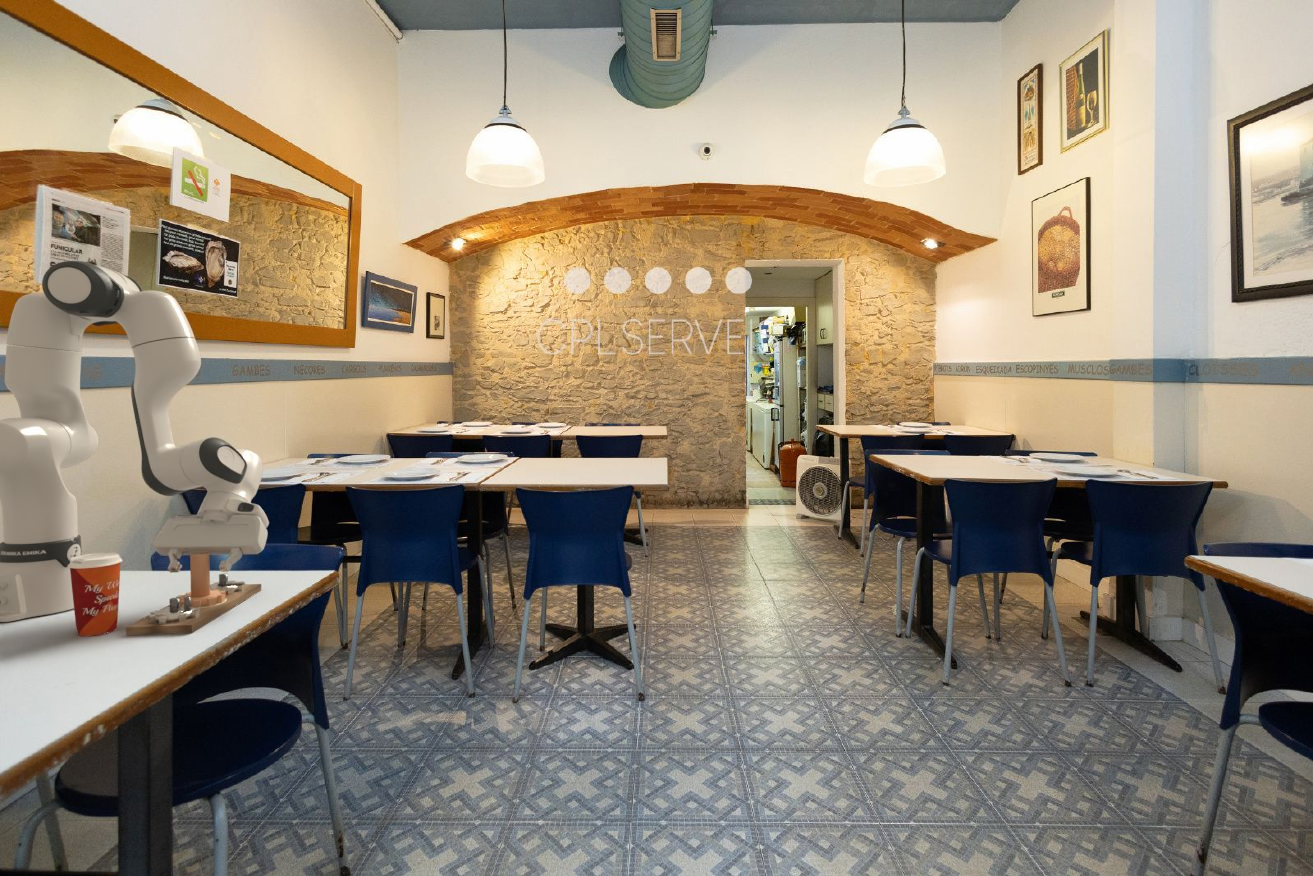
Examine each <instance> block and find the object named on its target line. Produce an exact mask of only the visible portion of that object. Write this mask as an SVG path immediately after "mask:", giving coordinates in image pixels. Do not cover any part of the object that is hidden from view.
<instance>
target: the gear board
mask: <svg viewBox="0 0 1313 876" xmlns="http://www.w3.org/2000/svg"><path fill="white" fill-rule="evenodd" d="M259 591H260V592H261V591H262V583H250V584H248V583H247V584H246V583H245V587H244V590H243V591H237V592H234V594H229V595H228V594H226V599H225V601H224V602H223V603H217V604H216V605H214V606H210V607H209V606H205V607H201V608H200V613H199V616H198V617H196V618H190V619H186V621H183V622H170V623H167V624H159V623H158V622H154V623H150V622H149V615H147V616H146V617H143V618H141V619H138V620H137V621H135V622H133V623H131V624H130V625H127V626H125V635H126V636H141V635H142V636H143V635H175V634H176V635H177V634H179V635H180V634H193V633H194V632H196V631H198V630H199V629H201V628H203V627H204V626H206V625H208V624H209V623H211V622H212V621H214V620H216V619H217V618H219V617H220V616H222V615H224V614H225V613H227V612H228V611H230V610H232V609H234V608H235V607H237V606H238V605H237V604H239V605H240V604H241V602H242V603H243V602H245V601H246V600H248V599H250V598H252V597H253V596H254V594H255V595H256V594H258V593H259ZM257 592H258V593H257ZM252 595H253V596H252ZM251 596H252V597H251ZM249 597H250V598H249ZM244 600H245V601H244ZM236 605H237V606H236ZM165 607H170V604H169V605H167V606H165ZM165 607H163V608H161V609H160V610H162V609H164V608H165Z"/></svg>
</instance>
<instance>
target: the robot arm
mask: <svg viewBox="0 0 1313 876" xmlns="http://www.w3.org/2000/svg"><path fill="white" fill-rule="evenodd" d="M41 285H42V286H41V287H42V291H43V292H33V293H28V294H24V295H22V296H21V297H19V298H18V299H17V301H16V302H15V304H14V306H13V307H14V308H13V310H12V313H11V317H10V321H9V325H8V330H7V337H6V349H5V351H6V352H5V362H4V363H5V364H4V365H5V367H4V368H5V369H4V380H3V381H4V384H5V385H4V386H5V387H6V389H8V391H9V392H10V393H12V394H13V396H14V398H15V400H16V402H17V404H18V409H19V412H20V417H7V418H3V419H0V505H1V514H2V515H1V517H2V530H3V531H2V534H3V536H2V537H3V541H1V542H0V623H7V622H8V623H9V622H13V621H19V620H23V619H24V620H25V619H27V618H33V617H38V616H45V615H51V614H55V613H56V614H57V613H61V612H65V611H69V610H74V603H73V593H72V583H71V574H70V568H68V567H67V566H68V564H70V560H71V558H73V557H76V556H80V555H82V552H83V551H82V538H81V537H82V536H81V535H80V534H79V528H78V527H79V525H78V522H79V521H78V518H79V516H78V500H77V498H76V496H75V495H74V494H72V493H71V491H69V490H68V488H67V486H66V485H65V482H64V479H63V477H62V474H61V473H62V472H61V469H66V468H71V467H74V466H76V465H78V464H79V465H80V463H83V462H85V461H86V460H88V459H90V458H91V457H93V455H94V454H95V453H96V451H97V450H98V447H99V443H100V442H99V436H98V433H97V432H96V430H95V429H94V427H93V426H92V425H90V423H89V421H88V418H87V416H86V411H85V408H84V404H83V399H82V394H81V372H82V369H81V367H82V354H83V353H82V350H83V336H84V333H85V330H86V329H87V328H88V327H90V325H92V326H95V327H101V326H107V325H113V324H114V325H115V324H119V325H120V326H121V327H122V328H123V330H124V331H125V333H126V336H127V338H128V341H129V345H130V346H131V350H132V352H133V356H134V361H135V362H134V363H135V373H134V379H133V381H132V383H131V387H130V394H131V395H130V396H131V402H132V404H131V405H132V409H133V415H134V419H135V425H136V430H137V436H138V441H139V445H140V452H141V466H140V467H141V476H142V479H143V481H144V483H145V485H147V487H149V488H150V489H151V490H153V491H154V492H155V493H158V494H160V495H162V496H165V497H173V496H176V495H180V494H182V493H185V492H188V491H190V490H193V489H196V488H197V489H198V488H201V487H203V488H204V489H206V491H207V492H206V495H205V497H203V498H204V499H203V501H202V503H201V504H200V507H199V509H198V511H197V514H177V515H175V516H173V517H170V518H168V519H167V520H166V521H165V523H164V525H163V527H162V528H161V529H160V531H159V532H158V533H157V535H156V536H155V538H154V541H153V543H152V546H153V548H154V549H155V551H156V552H157V553H158V554H159V555H160V556H168V559H169V561H170V562H169V565H168V567H167V570H168V572H169V573H180V571H181V569H182V568H183V565H182V563H181V562H180V561H179V559H181V557H182V556H190V555H191V554H194V553H203V552H206V553H209V556H210V555H211V556H215V555H216V556H217V555H219V556H220V555H223V556H224V555H229V556H228V558H226V559H225V560H221V561H220V564H219V565H218V570H220V572H221V573H222V572H226V573H227V572H228V573H229V572H230V571H231V569H232V566H233V565H235V563H237V562H238V561H239V560H241V558H242V557H243V555H259V553H261V552H262V551H263V550H264V549H265V546H266V544H267V543H266V542H267V539H268V533H269V532H268V529H267V528H268V526H269V524H270V521H269V519H268V516H267V514H266V513H265V511H264V509H262V507H261V506H260V505H259V504H256V503H252V500H253V498H255V496H256V495H257V492H258V490H259V486H260V484H261V481H262V477H263V471H264V465H263V461H262V458H261V457H260V456H259V455H258V454H256V453H255V452H254V451H252V450H250V449H246V448H235V446H232V445H231V444H230V443H229V442H227V441H226V440H225V439H221V438H219V437H208V438H203V439H200V440H196V441H191V442H189V443H185V444H181V445H179V446H176V445H175V441H174V436H173V431H172V425H171V420H170V415H169V407H170V404H171V402H172V399H174V397H175V396H176V394H178V393H179V391H181V390H182V389H184V387H185V386H186V385H188V384H189V383H190V382H191V381H192V380H194V378H195V377H196V375H197V374H198V373H199V371H200V369H201V365H202V360H201V359H202V356H201V352H200V349H199V345H198V343H197V340H196V338H195V335H194V332H193V329H192V327H191V325H190V322H189V320H188V318H187V316H186V314H185V313H184V310H183V309H182V307H181V306H180V303H178V300H177V299H176V298H175V297H174V296H172V295H171V294H169V293H167V292H165V291H160V290H153V289H152V290H150V289H149V290H144V289H143V288H142V287H141V286H140V284H139V283H138V282H137V281H136V280H134V279H133V278H131V277H129V276H127V274H123V273H121V272H119V271H116V270H114V269H112V268H110V267H107V266H102V265H97V264H93V263H91V262H87V261H81V260H65V261H61V262H60V261H59V262H58V263H55V264H53V265H52V266H51V267H48V269H46V271H45V272H44V275H43V276H42V282H41Z"/></svg>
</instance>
